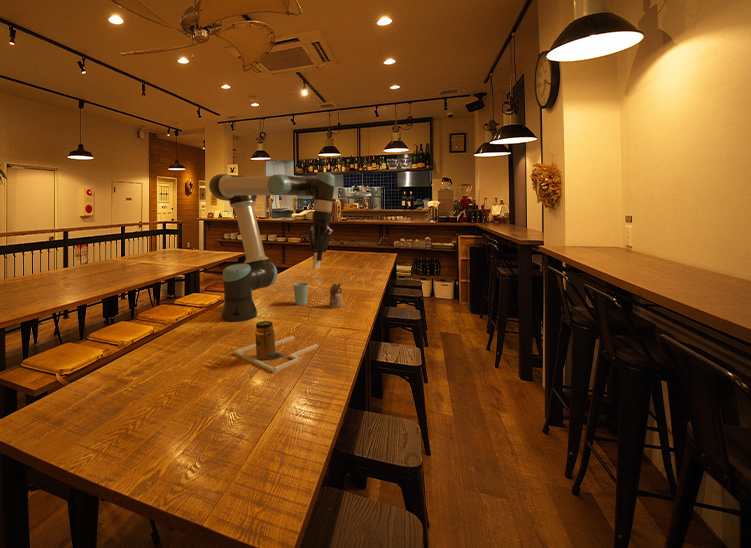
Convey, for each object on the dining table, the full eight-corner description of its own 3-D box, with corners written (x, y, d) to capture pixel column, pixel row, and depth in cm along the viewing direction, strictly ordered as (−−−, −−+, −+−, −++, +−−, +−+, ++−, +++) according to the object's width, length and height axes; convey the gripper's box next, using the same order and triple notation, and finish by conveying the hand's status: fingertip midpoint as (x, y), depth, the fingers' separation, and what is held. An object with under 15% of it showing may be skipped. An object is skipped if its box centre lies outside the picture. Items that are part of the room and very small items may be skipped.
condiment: (251, 357, 117) (249, 322, 115) (273, 349, 124) (272, 317, 121) (263, 363, 113) (261, 328, 110) (285, 355, 119) (284, 321, 117)
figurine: (329, 304, 181) (328, 281, 179) (343, 304, 182) (342, 281, 179) (328, 308, 174) (328, 284, 172) (342, 308, 174) (342, 284, 172)
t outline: (233, 353, 120) (233, 351, 119) (286, 335, 137) (286, 333, 137) (273, 372, 106) (273, 369, 106) (325, 350, 123) (325, 347, 123)
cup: (310, 304, 180) (310, 285, 178) (295, 306, 177) (294, 286, 175) (307, 301, 187) (306, 282, 185) (292, 302, 184) (291, 283, 182)
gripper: (340, 213, 143) (333, 270, 145) (318, 212, 151) (312, 266, 153) (326, 210, 137) (320, 270, 139) (304, 209, 145) (298, 266, 147)
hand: (316, 268), depth 146 cm, fingers closed
